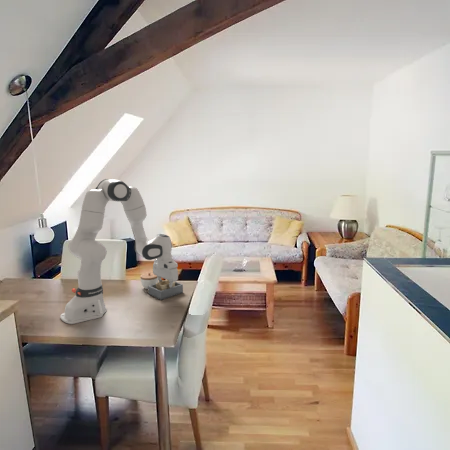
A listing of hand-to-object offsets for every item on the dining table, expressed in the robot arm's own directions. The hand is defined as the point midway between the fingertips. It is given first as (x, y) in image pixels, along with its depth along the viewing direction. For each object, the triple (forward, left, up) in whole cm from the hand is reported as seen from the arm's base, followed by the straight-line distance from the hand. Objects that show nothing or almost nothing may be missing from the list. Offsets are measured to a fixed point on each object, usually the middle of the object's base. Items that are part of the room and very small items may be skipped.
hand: (165, 285), depth 230 cm
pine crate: (0, 0, -4) cm, 4 cm away
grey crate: (0, 0, -5) cm, 5 cm away
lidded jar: (-1, +15, -5) cm, 16 cm away
